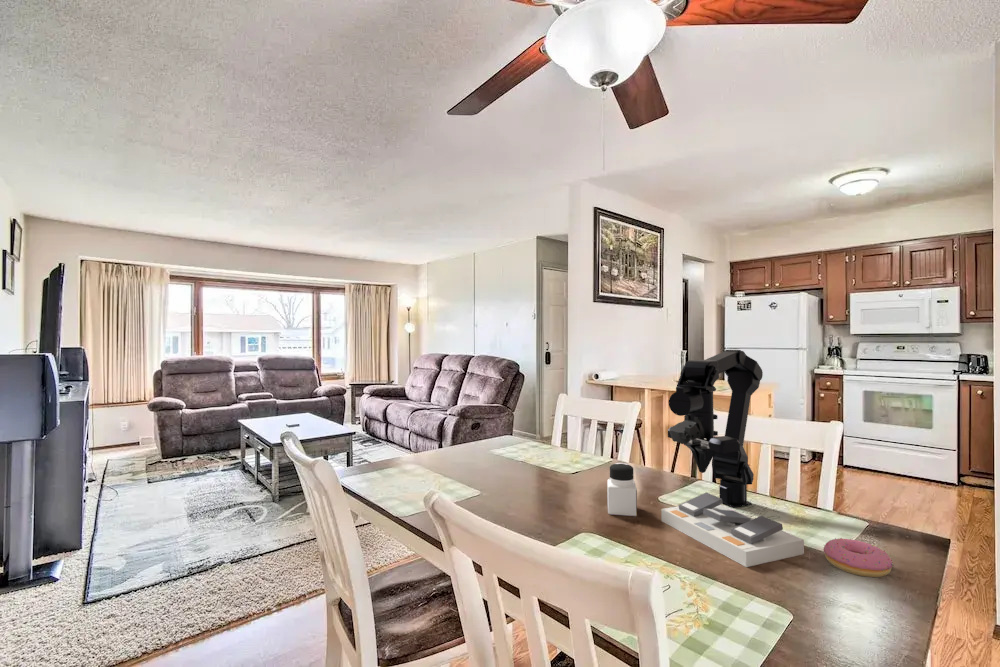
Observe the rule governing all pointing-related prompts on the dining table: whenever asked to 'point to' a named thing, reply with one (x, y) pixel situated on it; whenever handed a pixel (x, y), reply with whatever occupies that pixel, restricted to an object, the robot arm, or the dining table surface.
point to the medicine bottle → (621, 490)
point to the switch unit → (733, 538)
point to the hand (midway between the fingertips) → (702, 472)
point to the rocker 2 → (756, 529)
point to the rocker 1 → (700, 504)
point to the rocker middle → (726, 516)
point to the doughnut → (858, 557)
